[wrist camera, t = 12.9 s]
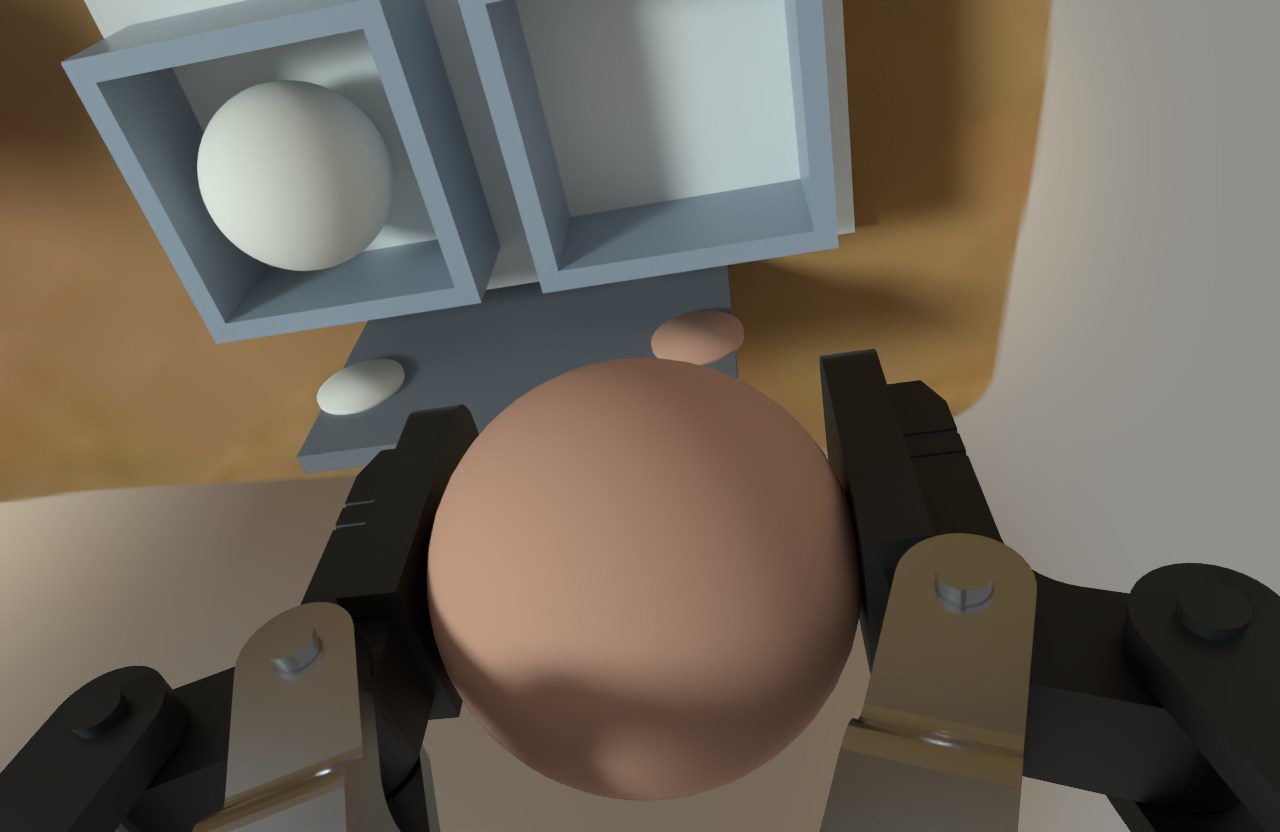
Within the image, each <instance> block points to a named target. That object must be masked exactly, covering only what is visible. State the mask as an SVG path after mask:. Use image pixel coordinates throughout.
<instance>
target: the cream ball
mask: <svg viewBox="0 0 1280 832" xmlns="http://www.w3.org/2000/svg"><path fill="white" fill-rule="evenodd" d="M197 174H198V181H199V187H200V192H201V195H202V198H203V201H204V203H205V205H206V208H207V210H208V212H209V214H210V215H211V217H212V219H213V220H214V222H215V224H216V225H217V226H218V228H219V229H220V230H221V232H222V233H223V234H224V235H225V236H226V237H227V238H228V239H229V240H230V241H231V242H232V243H233V244H234V245H235V246H237V247H238V248H239V249H241V250H242V251H243V252H245V253H247V254H248V255H250V256H251V257H253V258H255V259H257V260H259V261H261V262H264V263H266V264H269V265H272V266H275V267H279V268H283V269H288V270H295V271H311V270H321V269H326V268H330V267H333V266H336V265H339V264H341V263H344V262H346V261H348V260H350V259H352V258H354V257H355V256H357V255H358V254H359V253H361V252H362V251H363V250H364V249H366V248H367V247H368V246H369V245H370V244H371V243H372V242H373V241H374V239H375V238H376V237H377V236H378V234H379V233H380V231H381V230H382V228H383V227H384V224H385V222H386V220H387V218H388V215H389V213H390V210H391V206H392V202H393V195H394V173H393V167H392V161H391V158H390V154H389V151H388V149H387V146H386V144H385V142H384V140H383V138H382V136H381V135H380V133H379V131H378V130H377V128H376V127H375V126H374V124H373V123H372V122H371V120H370V119H369V118H368V117H367V116H366V115H365V114H364V112H363V111H362V110H360V109H359V108H358V107H357V106H356V105H355V104H353V103H352V102H351V101H349V100H348V99H346V98H345V97H343V96H341V95H340V94H338V93H336V92H334V91H332V90H330V89H328V88H325V87H323V86H320V85H317V84H313V83H309V82H303V81H294V80H279V81H270V82H266V83H262V84H259V85H255V86H252V87H250V88H248V89H245V90H243V91H242V92H240V93H238V94H237V95H235V96H234V97H232V98H231V99H229V100H228V101H227V102H226V103H225V104H224V105H223V106H222V107H221V108H220V109H219V110H218V111H217V112H216V113H215V115H214V116H213V118H212V119H211V120H210V122H209V124H208V126H207V128H206V130H205V132H204V134H203V136H202V140H201V143H200V147H199V152H198V161H197Z"/></svg>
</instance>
